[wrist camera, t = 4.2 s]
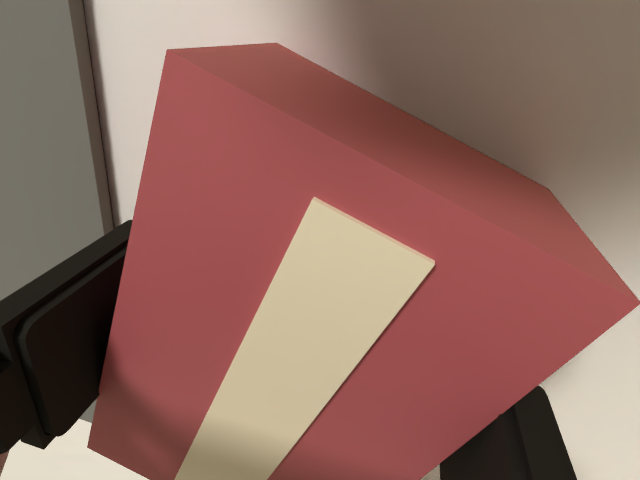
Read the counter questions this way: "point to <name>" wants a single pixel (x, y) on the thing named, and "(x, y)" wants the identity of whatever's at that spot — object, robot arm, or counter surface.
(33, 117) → the mat
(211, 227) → the card box
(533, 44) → the counter surface
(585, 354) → the counter surface
